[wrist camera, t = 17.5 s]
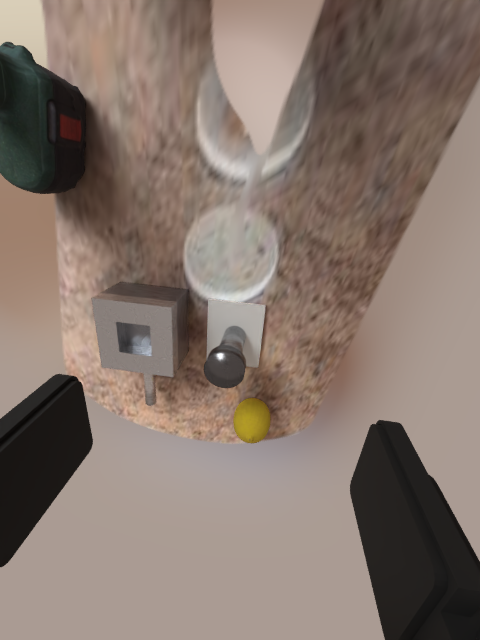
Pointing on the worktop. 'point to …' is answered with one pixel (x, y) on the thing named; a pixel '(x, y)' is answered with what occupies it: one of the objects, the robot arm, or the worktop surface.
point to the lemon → (251, 420)
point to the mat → (236, 315)
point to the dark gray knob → (227, 359)
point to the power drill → (39, 125)
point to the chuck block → (142, 330)
